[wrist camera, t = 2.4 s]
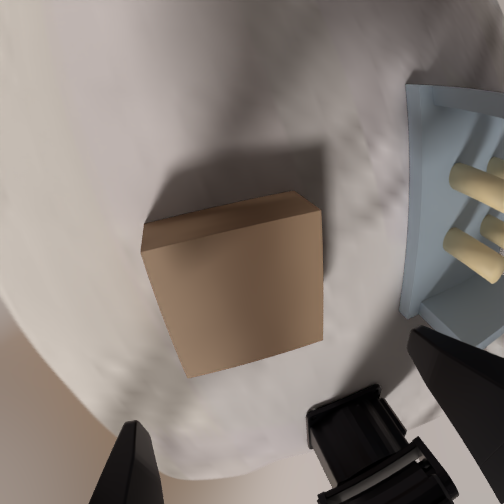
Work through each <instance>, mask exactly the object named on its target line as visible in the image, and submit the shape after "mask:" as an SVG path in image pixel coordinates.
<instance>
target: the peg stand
mask: <svg viewBox="0 0 504 504" xmlns="http://www.w3.org/2000/svg"><path fill="white" fill-rule="evenodd" d="M405 86H406V97H407V109H408V125H409V153H410V188H409V217H408V233H407V246H406V258H405V268H404V276H403V285H402V293H401V300H400V307H399V312H400V313H401V314H402V315H403V316H404V317H405V318H406V319H407V320H408V319H410V318H412V317H414V316H416V315H418V314H419V315H420V316H421V317H422V318H423V319H424V320H425V321H426V322H427V323H428V324H429V325H430V326H431V327H432V328H433V329H434V330H435V331H437V332H440V333H442V334H445V335H447V336H450V337H452V338H455V339H457V340H460V341H462V342H465V343H467V344H470V345H472V346H475V347H477V348H480V349H484V348H486V347H487V346H488V345H490V344H491V343H492V342H493V341H495V340H496V339H497V338H499V337H500V336H501V335H502V334H504V275H502V273H503V271H504V257H503V256H502V255H500V254H499V252H500V248H503V249H504V93H502V92H495V91H488V90H481V89H472V88H462V87H451V86H437V85H417V84H405Z"/></svg>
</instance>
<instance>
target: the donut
mask: <svg viewBox="0 0 504 504" xmlns="http://www.w3.org/2000/svg"><path fill="white" fill-rule="evenodd" d="M486 348H487V351H488V352H490V353H493V354H495V355H498V356H500V357H503V358H504V334H502V335H501V336H500V337H499V338H497V339H496V340H495V341H493V342H492V343H491V344H490V345H488V346H487V347H486Z"/></svg>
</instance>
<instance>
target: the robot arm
mask: <svg viewBox="0 0 504 504" xmlns="http://www.w3.org/2000/svg"><path fill="white" fill-rule="evenodd" d="M407 350H408V353H409V355H410V356H411V358H412V360H413V362H414V364H415V365H416V367H417V369H418V371H419V373H420V375H421V377H422V378H423V380H424V382H425V384H426V386H427V387H428V389H429V390H430V392H431V393H432V395H433V396H434V397H435V399H436V400H437V402H438V403H439V405H440V406H441V408H442V409H443V411H444V412H445V414H446V415H447V417H448V418H449V420H450V421H451V423H452V424H453V426H454V427H455V429H456V431H457V432H458V433H459V435H460V437H461V438H462V440H463V442H464V443H465V445H466V446H467V448H468V449H469V451H470V453H471V454H472V456H473V457H474V459H475V461H476V462H477V464H478V466H479V467H480V469H481V471H482V473H483V474H484V476H485V478H486V479H487V481H488V483H489V484H490V486H491V488H492V489H493V491H494V493H495V495H496V497H497V498H498V500H499V502H500V503H501V504H503V503H504V358H503V357H500V356H498V355H495V354H493V353H490V352H488V351H485V350H483V349H480V348H477V347H475V346H472V345H470V344H467V343H465V342H462V341H460V340H457V339H455V338H452V337H450V336H447V335H445V334H442V333H440V332H437V331H435V330H432V329H430V328H427V327H425V326H418V327H416V328H414V329H412V330H411V332H410V335H409V340H408V344H407ZM380 393H381V387H380V386H379V384H376V385H373V386H371V387H369V388H367V389H365V390H362V391H360V392H358V393H356V394H353V395H351V396H349V397H346V398H344V399H342V400H339V401H337V402H334V403H332V404H330V405H327V406H325V407H322V408H319V409H317V410H314V411H312V412H310V413H308V414H307V415H306V426H307V442H308V447H309V449H314V451H315V453H316V455H317V457H318V459H319V461H320V463H321V465H322V467H323V470H324V472H325V473H326V476H327V478H328V480H329V482H330V484H331V486H332V488H333V489H331V490H329V491H327V492H322V493H320V494H318V498H319V499H318V500H317V502H318V504H454V503H453V501H452V500H454V499H455V498H456V497H458V496H459V493H458V490H457V488H456V486H455V484H454V483H453V481H452V479H451V478H450V476H449V475H448V473H447V472H446V471H445V469H444V468H443V467H442V466H441V464H440V463H439V462H438V461H437V459H436V458H435V457H434V455H433V454H432V453H431V452H430V450H429V449H428V448H427V446H426V445H425V444H424V443H423V441H422V440H421V439H420V437H419V436H418V437H416V438H415V439H414V440H413V441H412V442H411V443H410V444H409V443H408V442H407V440H406V439H405V435H406V432H407V430H406V429H405V427H404V426H403V424H402V423H401V421H400V420H399V418H398V417H397V416H396V414H395V413H394V411H393V410H392V408H391V407H390V406H389V404H388V403H387V401H386V400H385V399H383V398H381V399H379V397H380ZM418 458H419V460H420V462H419V463H417V462H416V461H415V460H416V459H418ZM89 504H164V500H163V493H162V486H161V480H160V475H159V471H158V467H157V463H156V459H155V455H154V450H153V446H152V441H151V437H150V435H149V433H148V432H147V430H146V429H145V428H144V427H143V426H142V424H141V423H140V422H139V421H137V420H133V421H127V422H125V423H124V425H123V427H122V429H121V431H120V434H119V436H118V438H117V440H116V442H115V445H114V447H113V449H112V451H111V453H110V456H109V458H108V460H107V462H106V465H105V467H104V469H103V472H102V474H101V476H100V478H99V481H98V483H97V486H96V488H95V490H94V492H93V495H92V497H91V499H90V502H89Z"/></svg>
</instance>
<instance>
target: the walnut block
mask: <svg viewBox="0 0 504 504" xmlns="http://www.w3.org/2000/svg"><path fill="white" fill-rule="evenodd" d="M141 256H142V259H143V262H144V265H145V268H146V271H147V274H148V277H149V280H150V283H151V286H152V288H153V291H154V294H155V297H156V300H157V303H158V305H159V308H160V311H161V313H162V316H163V319H164V321H165V324H166V327H167V329H168V332H169V334H170V337H171V340H172V342H173V345H174V347H175V350H176V352H177V354H178V357H179V359H180V362H181V364H182V366H183V369H184V371H185V373H186V376H187V378H192V377H196V376H200V375H205V374H209V373H213V372H217V371H221V370H225V369H229V368H232V367H236V366H240V365H244V364H247V363H251V362H254V361H258V360H261V359H265V358H268V357H272V356H275V355H278V354H281V353H285V352H288V351H291V350H294V349H297V348H301V347H304V346H307V345H310V344H313V343H316V342H319V341H322V340H323V244H322V216H321V210H320V209H319V208H317V207H316V206H315V205H313V204H312V203H311V202H309V201H308V200H306V199H305V198H304V197H302V196H301V195H299V194H298V193H297V192H295V191H289V192H283V193H278V194H273V195H268V196H264V197H259V198H254V199H249V200H244V201H240V202H235V203H231V204H226V205H221V206H217V207H212V208H208V209H204V210H199V211H195V212H191V213H187V214H182V215H178V216H174V217H170V218H166V219H162V220H158V221H154V222H150V223H146V224H144V229H143V236H142V244H141Z"/></svg>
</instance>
